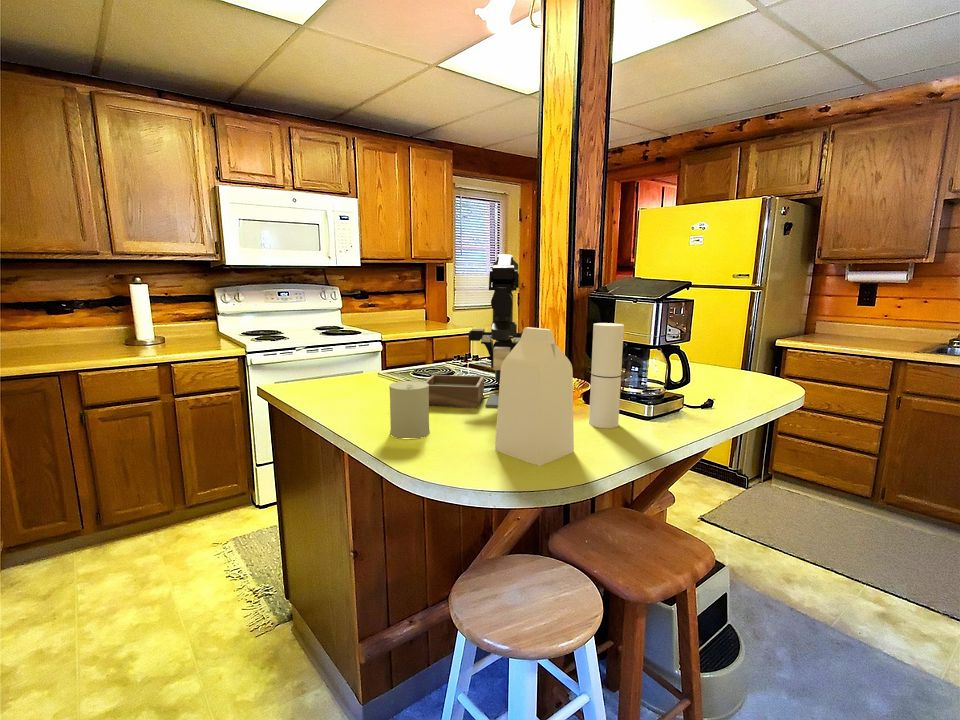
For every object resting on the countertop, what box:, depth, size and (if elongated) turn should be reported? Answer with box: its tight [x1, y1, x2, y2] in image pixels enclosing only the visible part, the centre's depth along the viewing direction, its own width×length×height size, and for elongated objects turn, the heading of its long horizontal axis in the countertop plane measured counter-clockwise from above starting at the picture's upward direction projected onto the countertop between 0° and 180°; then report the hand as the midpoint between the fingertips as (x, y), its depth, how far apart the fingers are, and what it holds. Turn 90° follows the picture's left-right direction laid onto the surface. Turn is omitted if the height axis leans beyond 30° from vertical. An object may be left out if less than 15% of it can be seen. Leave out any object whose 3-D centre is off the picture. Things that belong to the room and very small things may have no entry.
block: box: [492, 347, 511, 371], centre depth 143 cm, size 5×5×6 cm
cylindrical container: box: [588, 322, 625, 429], centre depth 122 cm, size 7×7×25 cm
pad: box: [485, 393, 499, 409], centre depth 145 cm, size 12×8×1 cm, turn 173°
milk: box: [494, 327, 575, 467], centre depth 103 cm, size 12×12×26 cm
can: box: [388, 380, 431, 439], centre depth 115 cm, size 9×9×12 cm
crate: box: [424, 374, 485, 409], centre depth 146 cm, size 15×16×6 cm
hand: (501, 365), depth 143 cm, fingers closed on block, 5 cm apart
